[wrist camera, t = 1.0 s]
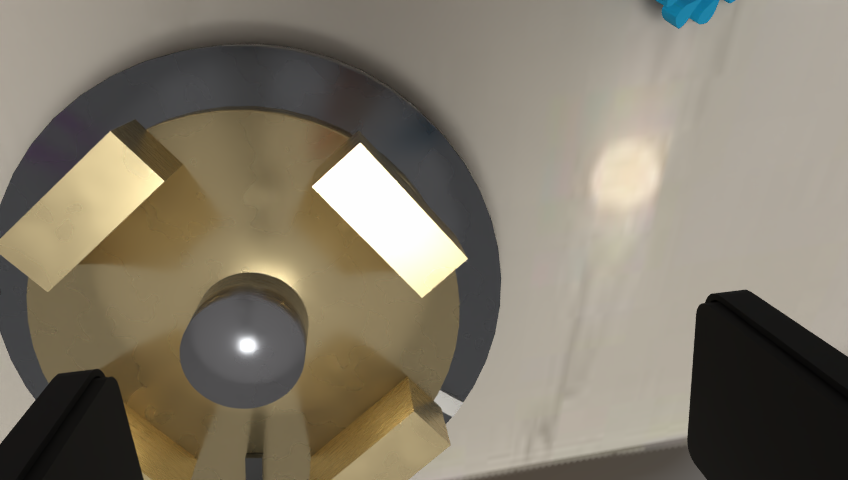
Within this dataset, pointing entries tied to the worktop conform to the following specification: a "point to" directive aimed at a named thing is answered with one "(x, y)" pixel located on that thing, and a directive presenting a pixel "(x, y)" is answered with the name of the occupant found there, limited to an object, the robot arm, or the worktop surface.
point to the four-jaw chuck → (249, 296)
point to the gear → (688, 10)
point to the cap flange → (283, 89)
